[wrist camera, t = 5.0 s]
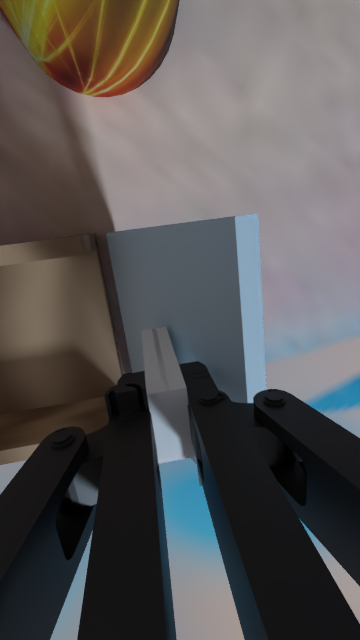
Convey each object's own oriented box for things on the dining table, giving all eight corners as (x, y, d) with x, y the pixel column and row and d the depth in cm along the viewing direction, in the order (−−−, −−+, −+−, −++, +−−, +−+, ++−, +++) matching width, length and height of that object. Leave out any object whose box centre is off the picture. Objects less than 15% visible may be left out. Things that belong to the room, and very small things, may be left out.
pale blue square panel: (258, 213, 10) (234, 216, 10) (272, 514, 14) (256, 526, 14) (119, 231, 21) (105, 232, 21) (149, 397, 25) (137, 402, 24)
